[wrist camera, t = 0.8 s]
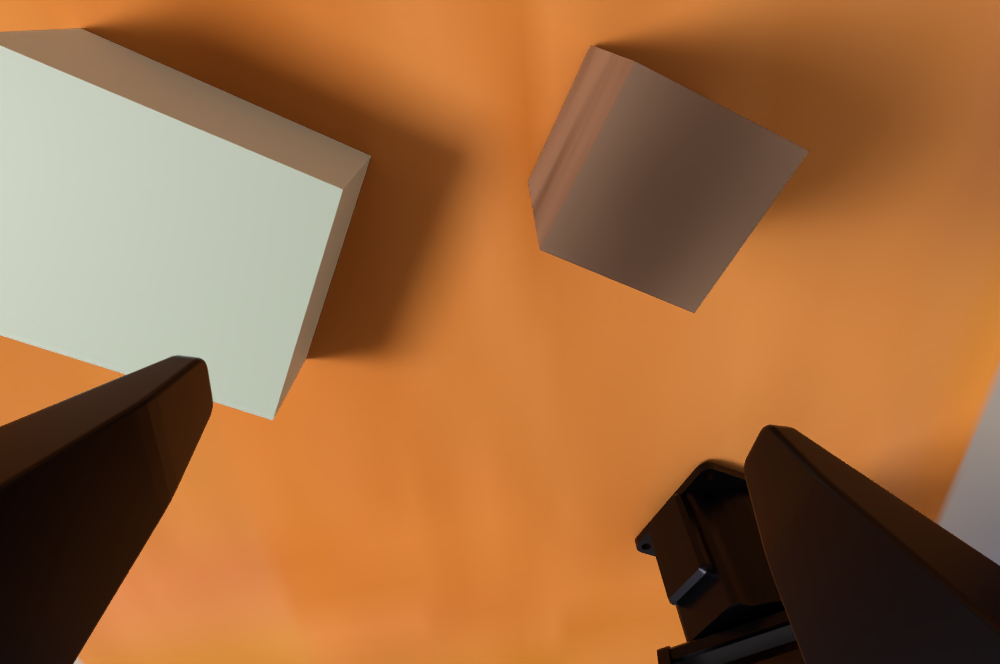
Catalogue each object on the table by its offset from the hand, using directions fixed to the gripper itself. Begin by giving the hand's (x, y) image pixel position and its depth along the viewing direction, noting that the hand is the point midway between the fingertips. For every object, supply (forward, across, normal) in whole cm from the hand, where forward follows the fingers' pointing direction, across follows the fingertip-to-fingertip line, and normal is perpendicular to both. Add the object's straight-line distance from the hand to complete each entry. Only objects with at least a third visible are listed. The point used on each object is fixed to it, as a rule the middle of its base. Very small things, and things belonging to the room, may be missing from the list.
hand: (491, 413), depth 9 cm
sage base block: (+12, +10, +2) cm, 16 cm away
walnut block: (+12, -4, -2) cm, 12 cm away
